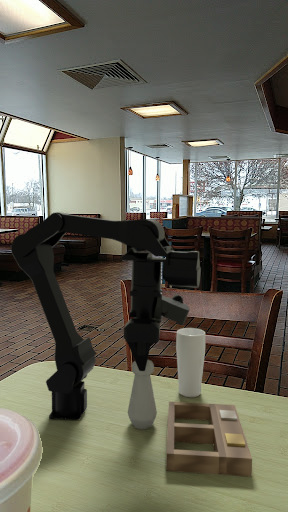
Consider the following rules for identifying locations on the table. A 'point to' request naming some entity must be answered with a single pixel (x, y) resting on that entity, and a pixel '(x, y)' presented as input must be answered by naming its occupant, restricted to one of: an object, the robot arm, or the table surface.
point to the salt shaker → (142, 398)
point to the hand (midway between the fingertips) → (144, 361)
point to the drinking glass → (190, 360)
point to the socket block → (208, 440)
